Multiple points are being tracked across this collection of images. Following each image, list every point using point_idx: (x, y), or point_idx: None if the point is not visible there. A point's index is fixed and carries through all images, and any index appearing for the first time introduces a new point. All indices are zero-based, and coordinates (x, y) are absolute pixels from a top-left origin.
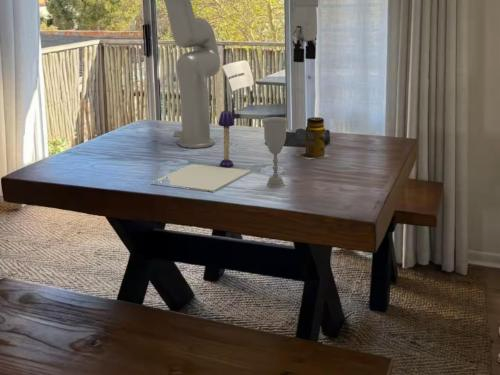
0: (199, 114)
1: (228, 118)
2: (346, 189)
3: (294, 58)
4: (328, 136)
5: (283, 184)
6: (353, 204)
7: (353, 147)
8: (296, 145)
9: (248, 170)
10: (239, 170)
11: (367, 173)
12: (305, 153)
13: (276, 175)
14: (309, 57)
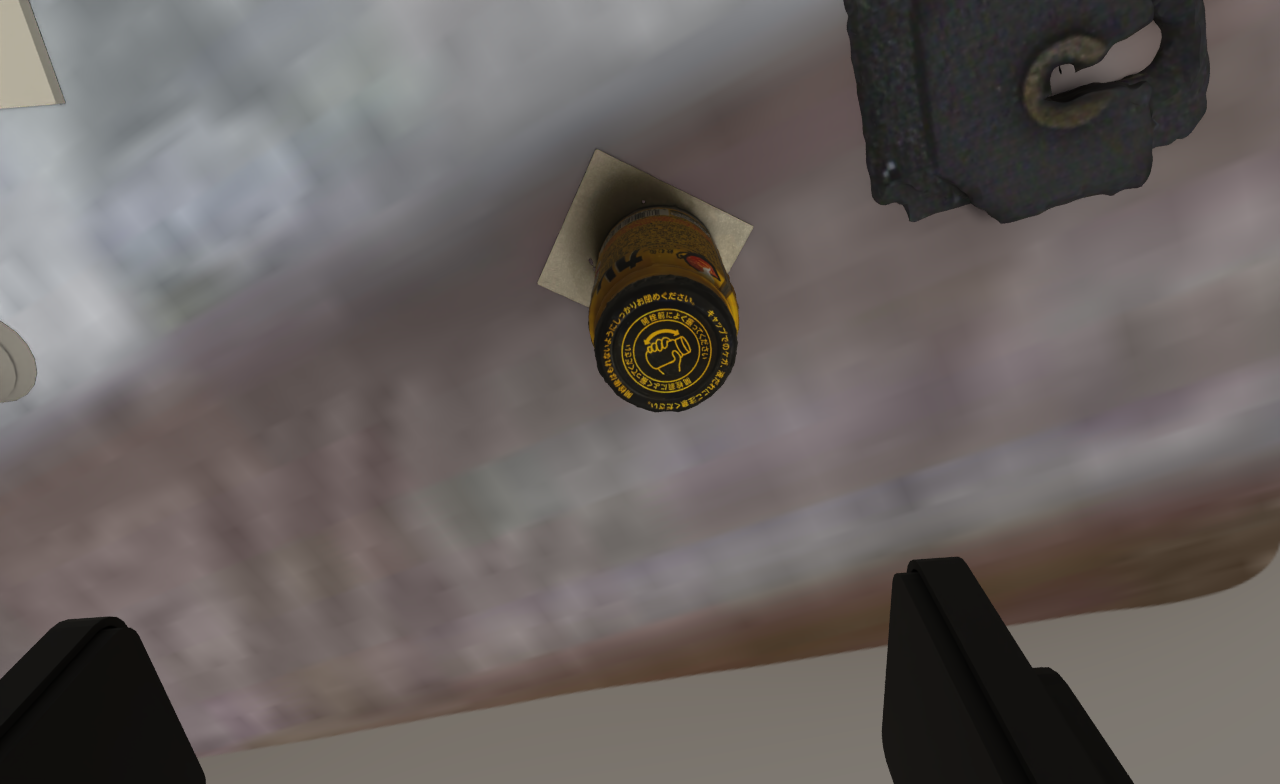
0: None
1: None
2: (170, 633)
3: (17, 696)
4: (1028, 216)
5: (1, 400)
6: None
7: (954, 383)
8: (854, 22)
9: (46, 88)
10: (1, 30)
11: (449, 620)
12: (671, 190)
13: None
14: (897, 672)
